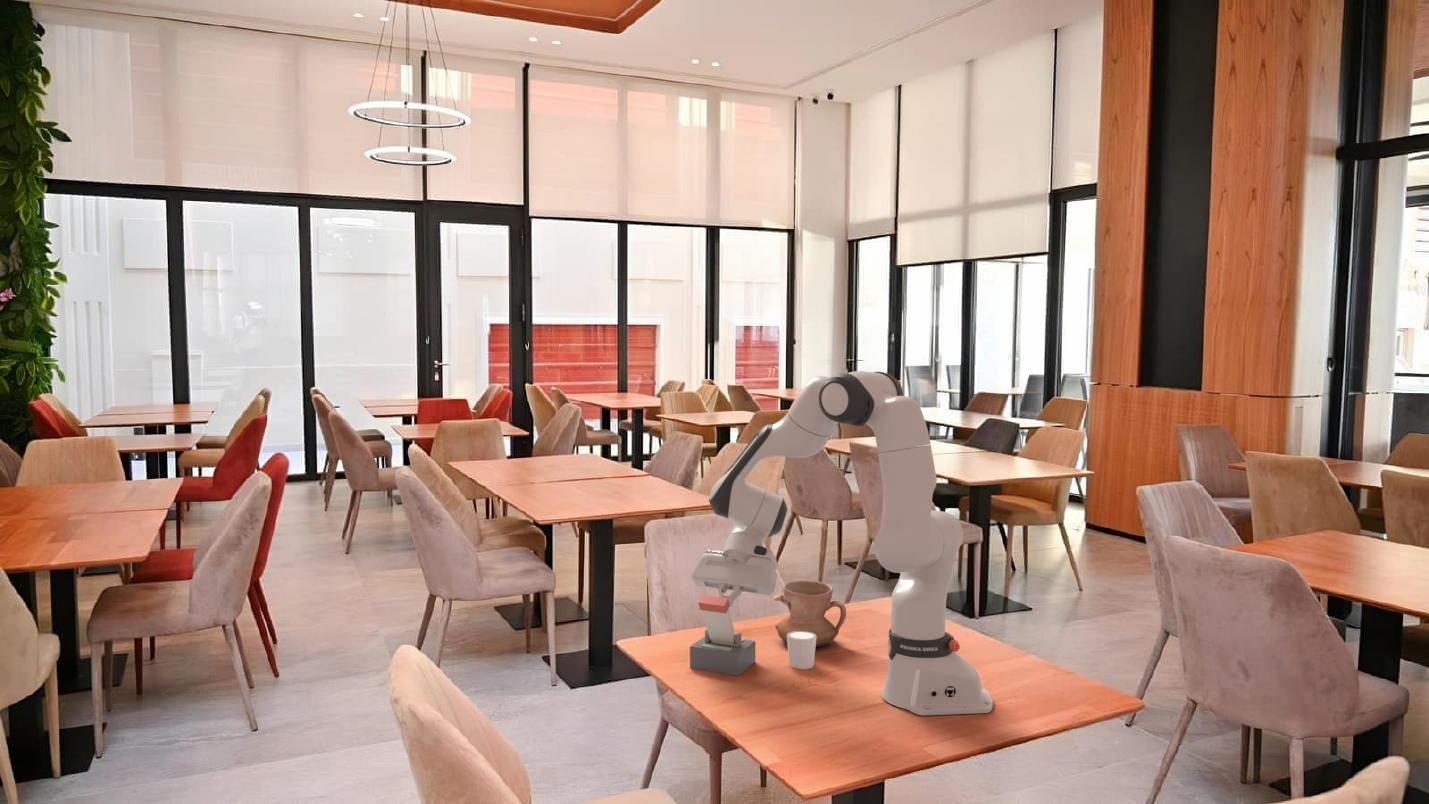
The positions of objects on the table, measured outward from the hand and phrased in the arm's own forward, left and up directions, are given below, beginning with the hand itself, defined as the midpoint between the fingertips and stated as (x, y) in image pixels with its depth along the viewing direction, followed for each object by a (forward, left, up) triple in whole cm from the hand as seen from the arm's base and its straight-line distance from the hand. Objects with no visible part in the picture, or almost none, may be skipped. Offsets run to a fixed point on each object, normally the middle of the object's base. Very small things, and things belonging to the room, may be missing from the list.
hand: (724, 604), depth 221 cm
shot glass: (-18, -1, -14) cm, 23 cm away
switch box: (0, +1, -14) cm, 14 cm away
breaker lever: (0, +1, -8) cm, 8 cm away
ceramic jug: (-20, -17, -14) cm, 30 cm away
